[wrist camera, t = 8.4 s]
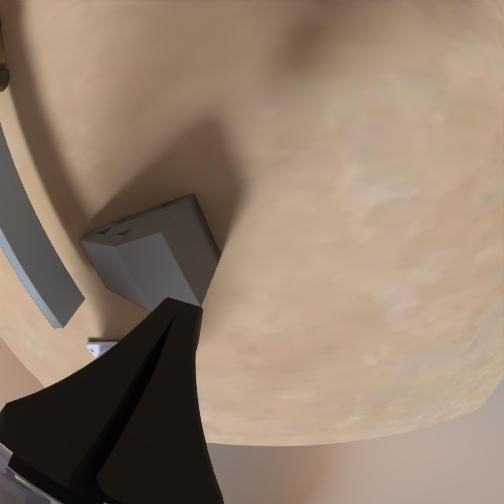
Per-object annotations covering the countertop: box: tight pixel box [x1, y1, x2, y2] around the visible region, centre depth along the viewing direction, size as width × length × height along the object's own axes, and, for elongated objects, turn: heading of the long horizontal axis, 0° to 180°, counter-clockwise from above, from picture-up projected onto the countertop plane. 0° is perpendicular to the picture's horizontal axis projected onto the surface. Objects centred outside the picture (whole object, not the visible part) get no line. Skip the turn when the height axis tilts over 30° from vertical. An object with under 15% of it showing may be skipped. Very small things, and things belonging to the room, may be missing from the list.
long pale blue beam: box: [0, 123, 85, 328], centre depth 15 cm, size 19×2×4 cm, turn 18°
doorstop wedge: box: [78, 193, 221, 311], centre depth 17 cm, size 10×4×5 cm, turn 109°
